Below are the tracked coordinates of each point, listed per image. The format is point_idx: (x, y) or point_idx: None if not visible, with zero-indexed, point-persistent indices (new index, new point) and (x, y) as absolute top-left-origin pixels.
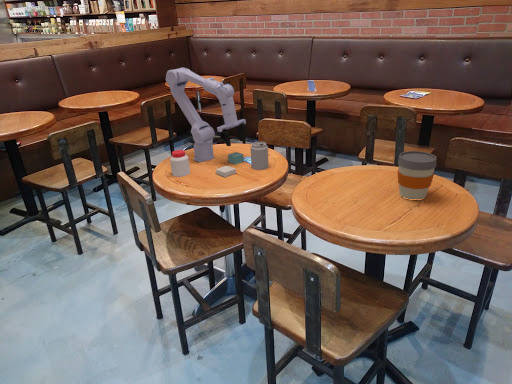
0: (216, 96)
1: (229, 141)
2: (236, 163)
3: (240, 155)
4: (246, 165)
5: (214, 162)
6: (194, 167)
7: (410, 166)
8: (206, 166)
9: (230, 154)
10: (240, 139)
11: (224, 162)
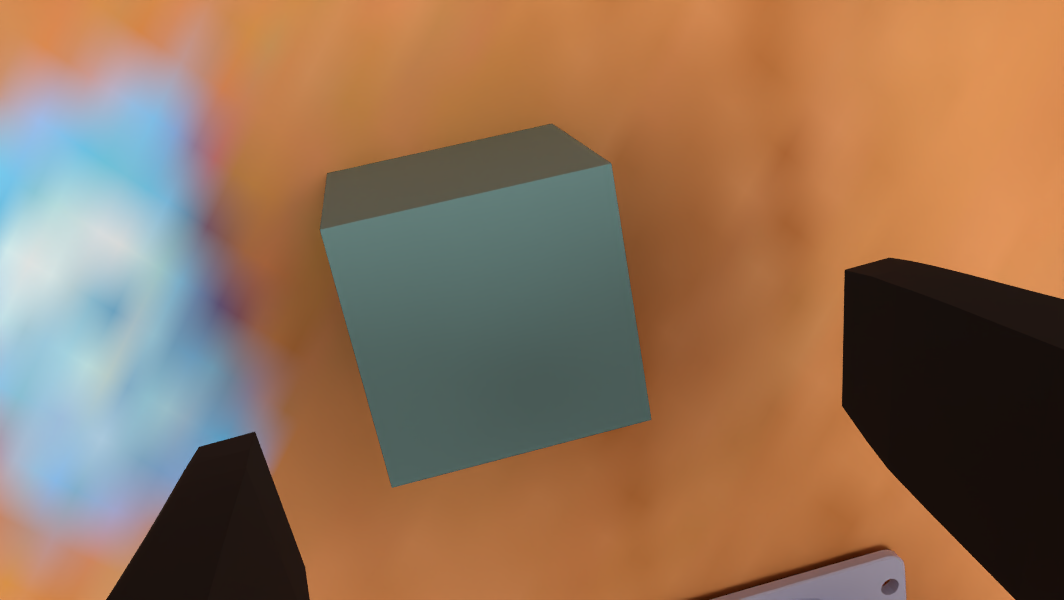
0: None
1: (1018, 304)
2: (532, 143)
3: (416, 207)
4: (307, 78)
5: (721, 556)
6: None
7: None
8: None
9: (597, 393)
10: (293, 581)
11: (588, 472)
